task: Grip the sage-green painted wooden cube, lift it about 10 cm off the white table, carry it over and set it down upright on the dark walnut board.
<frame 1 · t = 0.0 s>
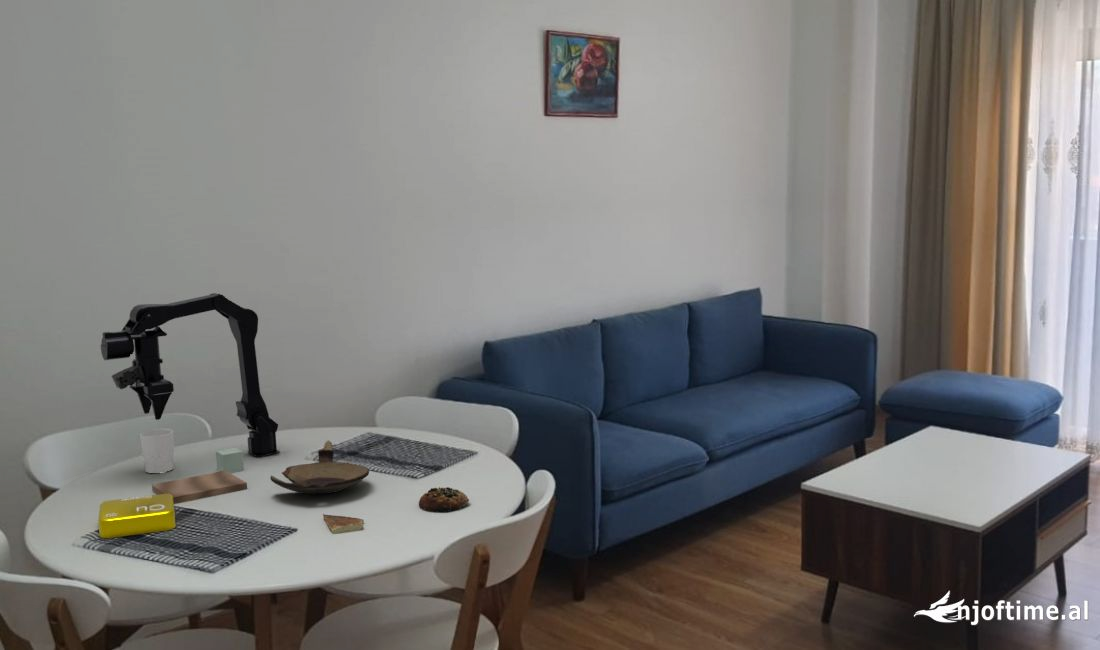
hand: (152, 416, 266), 15 cm above the table, fingers open, 9 cm apart
element tile: (138, 526, 229), on the table
white cup: (159, 471, 271), on the table
walnut board: (199, 489, 253), on the table
bread roll: (443, 506, 237), on the table
sage cube: (230, 470, 270), on the table
oil lamp: (327, 488, 252), on the table
shard: (337, 530, 224), on the table
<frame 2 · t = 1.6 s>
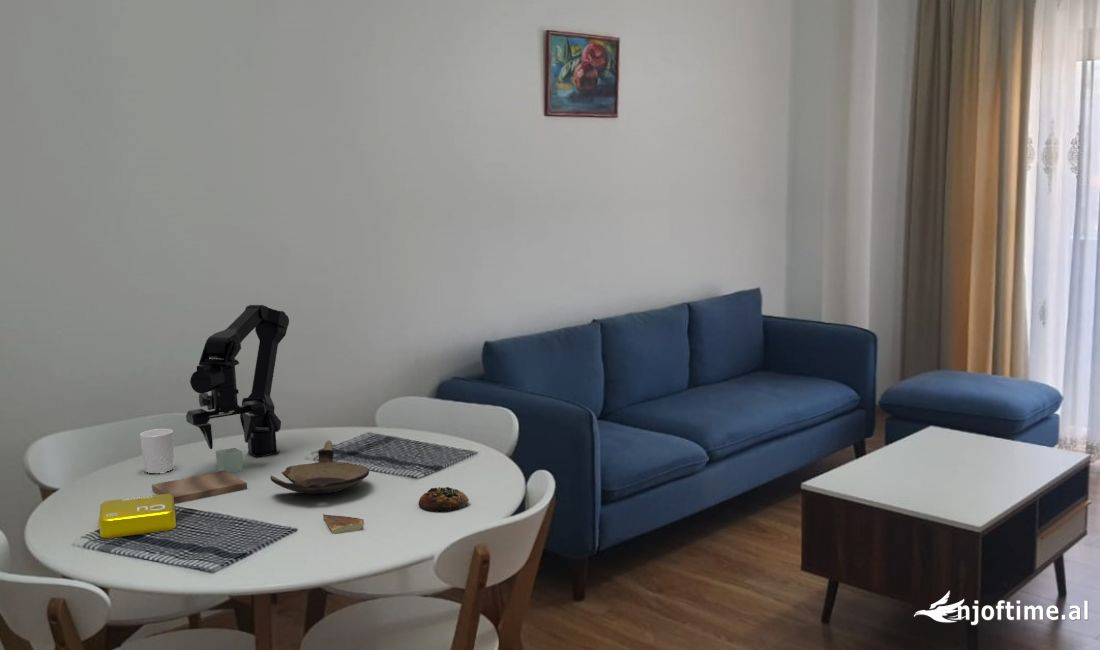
hand: (228, 445, 269), 6 cm above the table, fingers open, 9 cm apart
nothing on the table moved.
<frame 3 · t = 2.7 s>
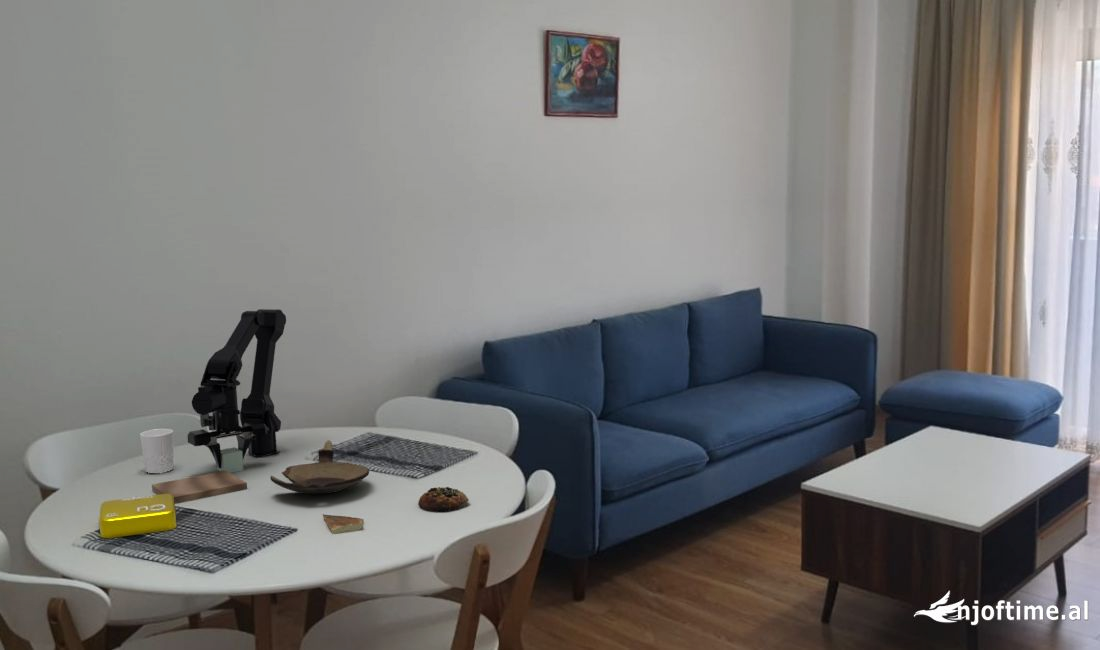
hand: (229, 466, 270), 1 cm above the table, fingers closed on sage cube, 5 cm apart
sage cube: (230, 470, 270), on the table, touching gripper
everything else where it was.
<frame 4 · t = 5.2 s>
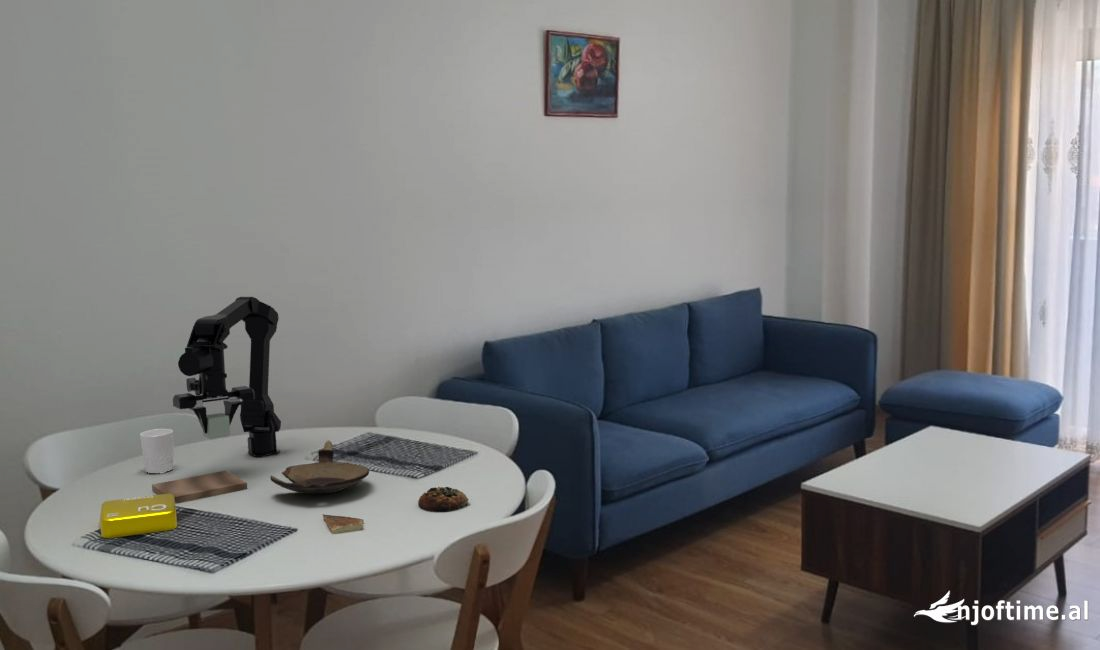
hand: (216, 431, 262), 12 cm above the table, fingers closed on sage cube, 5 cm apart
sage cube: (216, 435, 262), point 10 cm above the table, touching gripper
everything else where it was.
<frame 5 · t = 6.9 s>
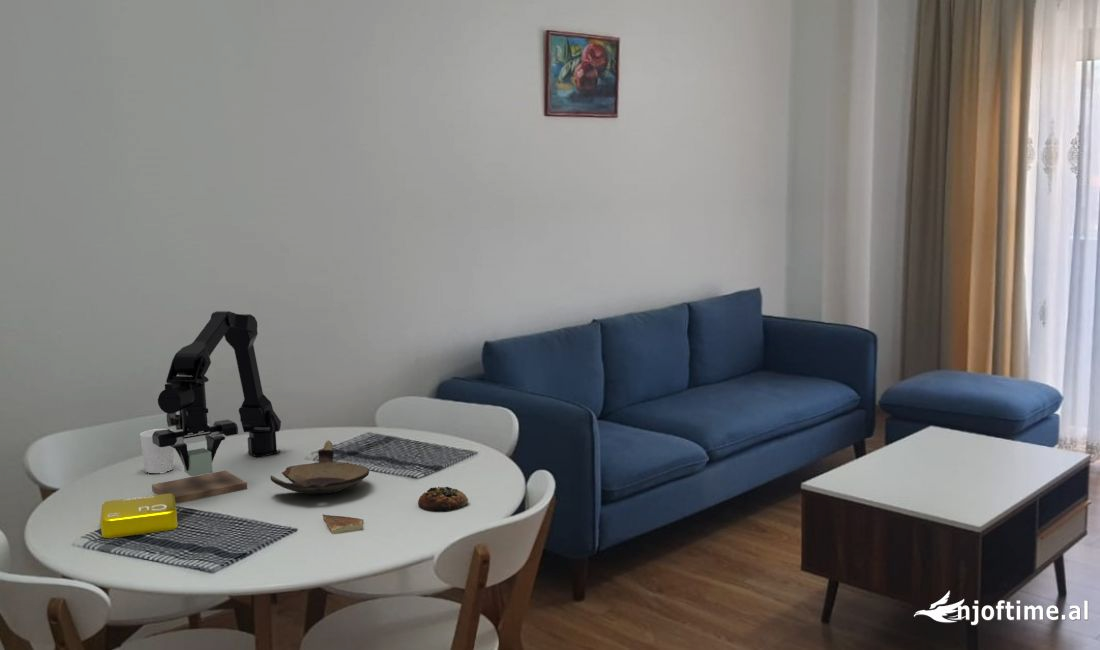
hand: (198, 468, 252), 5 cm above the table, fingers closed on sage cube, 5 cm apart
sage cube: (198, 472, 252), point 4 cm above the table, touching gripper
everything else where it was.
when the fingers open (4 cm above the table, at t = 8.0 s): sage cube drops 1 cm, resting on walnut board.
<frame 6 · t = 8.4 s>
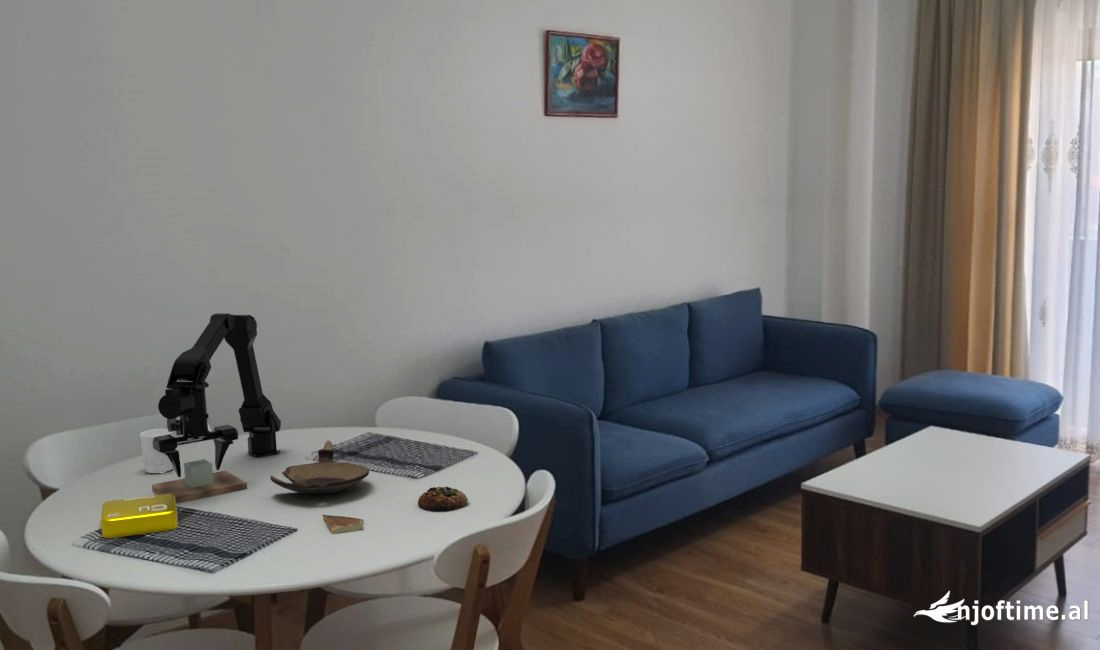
hand: (198, 473, 252), 4 cm above the table, fingers open, 9 cm apart
sage cube: (199, 483, 253), point 1 cm above the table, touching walnut board
everything else where it was.
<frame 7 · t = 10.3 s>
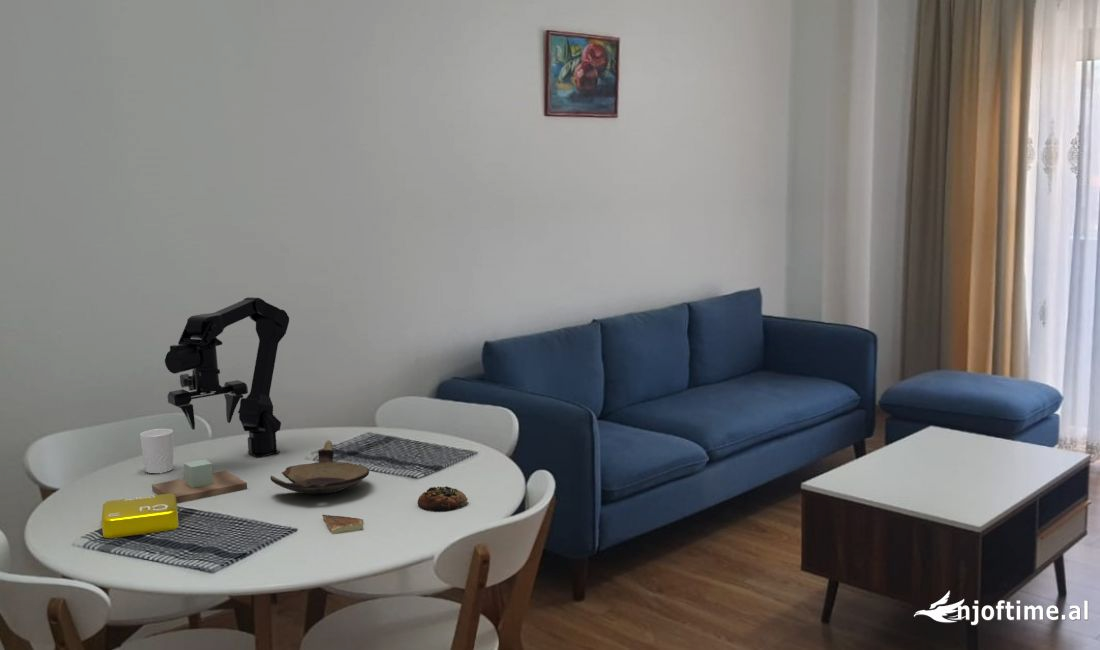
hand: (211, 425, 268), 12 cm above the table, fingers open, 9 cm apart
nothing on the table moved.
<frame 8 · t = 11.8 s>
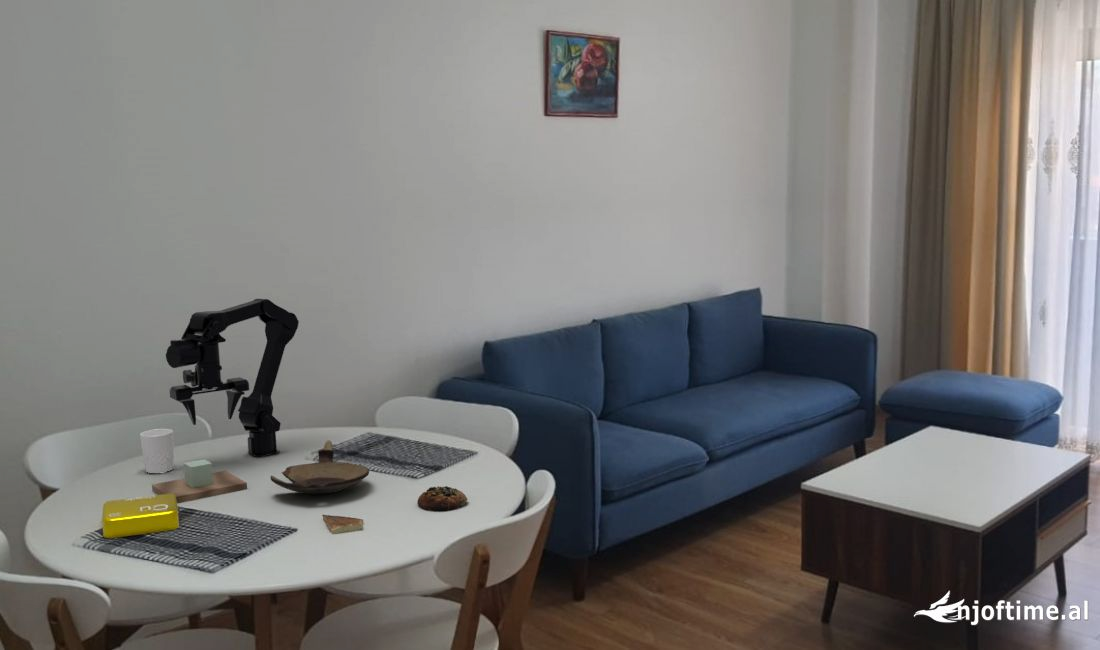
hand: (212, 421, 271), 12 cm above the table, fingers open, 9 cm apart
nothing on the table moved.
at the end: sage cube inside the target area on the walnut board (0.0 cm from its centre), point 1.5 cm above the walnut board's base; sage cube tilted 0°; the gripper is holding nothing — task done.
